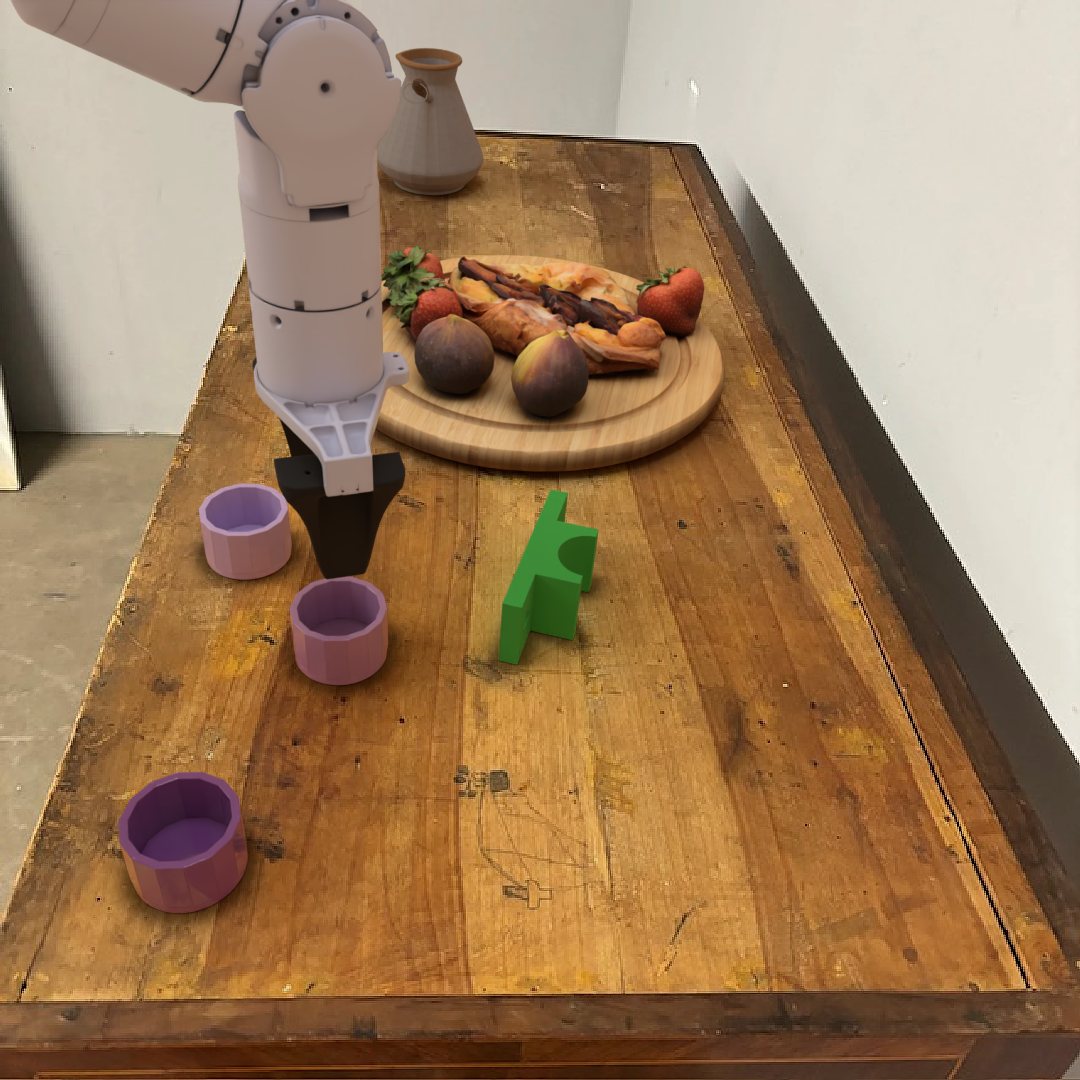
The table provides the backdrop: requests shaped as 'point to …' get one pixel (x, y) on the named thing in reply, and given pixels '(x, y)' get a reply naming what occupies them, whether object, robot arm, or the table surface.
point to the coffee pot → (430, 128)
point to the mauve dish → (339, 630)
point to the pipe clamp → (548, 580)
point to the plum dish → (184, 841)
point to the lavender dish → (246, 531)
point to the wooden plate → (544, 360)
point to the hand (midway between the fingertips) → (331, 524)
